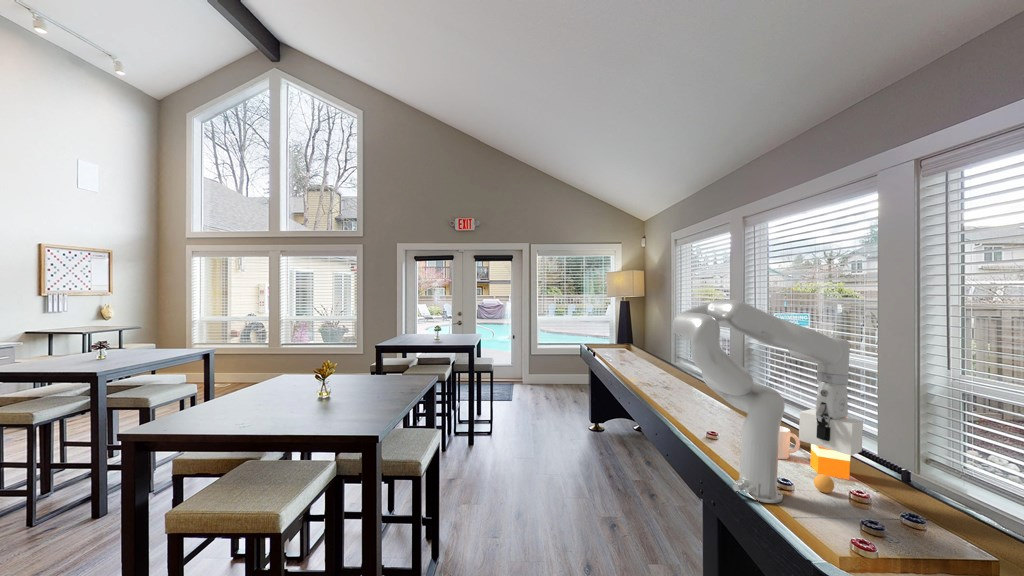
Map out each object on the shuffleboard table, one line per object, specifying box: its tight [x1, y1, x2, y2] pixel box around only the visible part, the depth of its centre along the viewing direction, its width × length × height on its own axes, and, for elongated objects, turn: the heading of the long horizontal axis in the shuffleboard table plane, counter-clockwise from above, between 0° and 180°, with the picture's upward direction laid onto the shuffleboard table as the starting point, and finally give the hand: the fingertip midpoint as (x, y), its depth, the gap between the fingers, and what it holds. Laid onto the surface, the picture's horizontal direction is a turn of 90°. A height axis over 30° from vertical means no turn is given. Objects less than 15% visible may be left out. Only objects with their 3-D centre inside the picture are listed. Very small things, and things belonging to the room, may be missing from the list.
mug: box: [778, 425, 801, 460], centre depth 154 cm, size 12×8×10 cm
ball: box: [813, 474, 835, 494], centre depth 126 cm, size 5×5×5 cm
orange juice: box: [810, 415, 851, 480], centre depth 142 cm, size 8×9×20 cm
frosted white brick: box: [798, 408, 864, 457], centre depth 125 cm, size 8×13×9 cm, turn 32°
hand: (829, 437), depth 125 cm, fingers closed on frosted white brick, 7 cm apart
